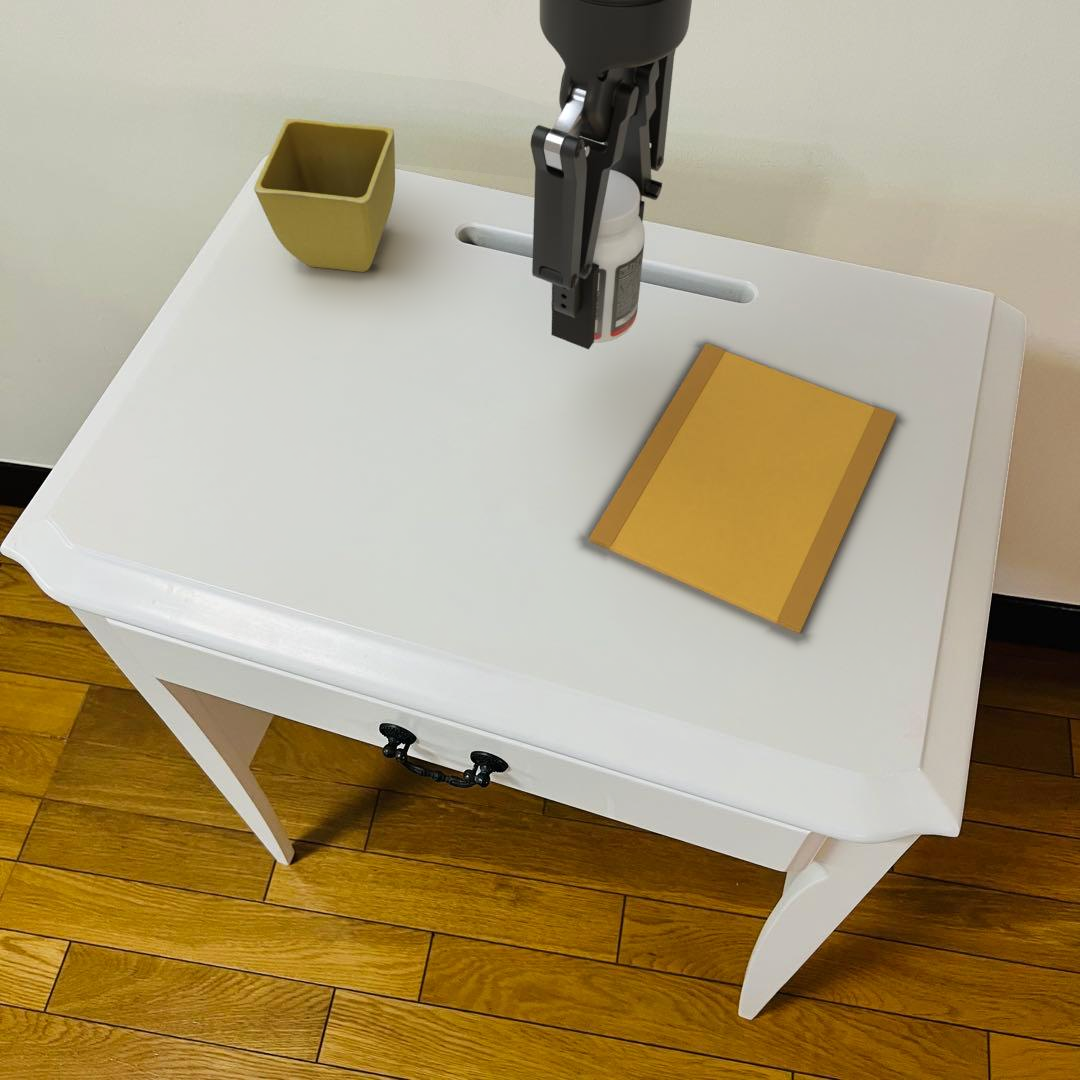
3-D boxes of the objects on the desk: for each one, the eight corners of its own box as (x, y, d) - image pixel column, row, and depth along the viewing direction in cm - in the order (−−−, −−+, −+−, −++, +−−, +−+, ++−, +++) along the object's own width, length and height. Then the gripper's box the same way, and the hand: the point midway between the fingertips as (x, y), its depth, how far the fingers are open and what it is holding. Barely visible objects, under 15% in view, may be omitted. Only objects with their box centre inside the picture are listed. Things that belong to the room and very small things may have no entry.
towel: (894, 419, 76) (897, 414, 76) (799, 634, 67) (801, 629, 66) (705, 348, 80) (706, 342, 80) (589, 541, 70) (589, 536, 70)
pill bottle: (618, 277, 72) (630, 154, 63) (649, 335, 69) (665, 213, 60) (539, 296, 71) (540, 173, 62) (566, 355, 68) (571, 234, 59)
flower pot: (276, 281, 84) (250, 188, 76) (306, 209, 88) (285, 115, 81) (383, 293, 83) (367, 201, 76) (408, 220, 88) (395, 127, 80)
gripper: (631, -151, 55) (605, 206, 75) (450, 29, 46) (474, 381, 66) (764, -117, 53) (702, 240, 73) (603, 77, 44) (581, 425, 64)
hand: (594, 306), depth 69 cm, fingers closed on pill bottle, 6 cm apart
